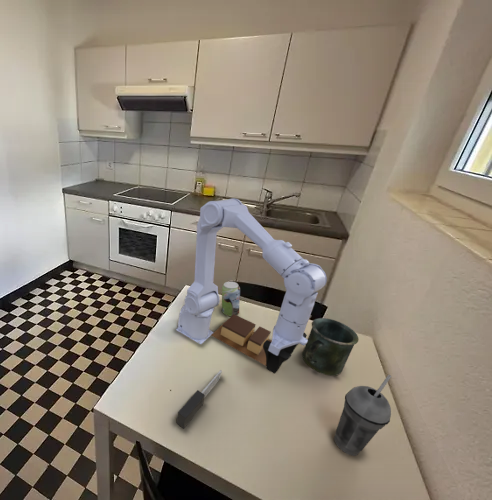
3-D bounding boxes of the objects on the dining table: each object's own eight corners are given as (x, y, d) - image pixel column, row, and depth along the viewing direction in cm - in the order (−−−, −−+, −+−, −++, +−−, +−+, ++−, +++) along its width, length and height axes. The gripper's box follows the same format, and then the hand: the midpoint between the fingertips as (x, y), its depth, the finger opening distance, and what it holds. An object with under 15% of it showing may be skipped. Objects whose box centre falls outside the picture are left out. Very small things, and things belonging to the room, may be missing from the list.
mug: (351, 370, 79) (367, 337, 74) (320, 388, 73) (335, 353, 68) (314, 345, 88) (327, 314, 83) (284, 359, 81) (295, 326, 76)
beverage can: (239, 320, 98) (246, 290, 93) (217, 316, 99) (223, 287, 94) (237, 309, 103) (243, 281, 98) (217, 306, 104) (222, 278, 100)
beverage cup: (319, 428, 63) (350, 361, 55) (349, 426, 63) (384, 360, 55) (343, 464, 56) (383, 393, 48) (376, 462, 57) (421, 392, 49)
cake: (220, 334, 89) (222, 324, 87) (231, 323, 94) (233, 313, 93) (242, 346, 84) (245, 336, 83) (253, 334, 90) (255, 324, 88)
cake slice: (246, 348, 84) (249, 338, 82) (256, 336, 89) (259, 326, 88) (257, 354, 82) (261, 344, 80) (267, 341, 87) (270, 331, 86)
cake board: (210, 336, 89) (210, 335, 88) (227, 320, 97) (228, 318, 97) (267, 368, 78) (267, 366, 78) (281, 347, 86) (281, 345, 86)
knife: (176, 422, 62) (178, 412, 60) (215, 376, 74) (218, 366, 73) (183, 429, 61) (185, 418, 59) (222, 380, 73) (225, 370, 72)
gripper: (300, 340, 54) (282, 390, 60) (323, 312, 64) (306, 357, 69) (265, 322, 59) (251, 369, 64) (291, 298, 68) (277, 342, 74)
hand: (278, 362), depth 67 cm, fingers open, 7 cm apart
